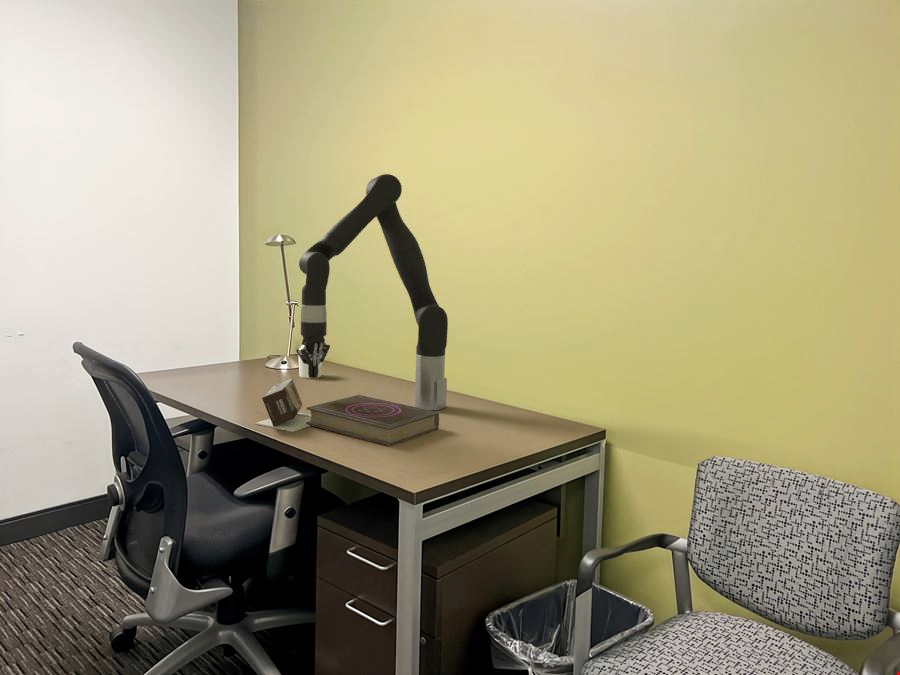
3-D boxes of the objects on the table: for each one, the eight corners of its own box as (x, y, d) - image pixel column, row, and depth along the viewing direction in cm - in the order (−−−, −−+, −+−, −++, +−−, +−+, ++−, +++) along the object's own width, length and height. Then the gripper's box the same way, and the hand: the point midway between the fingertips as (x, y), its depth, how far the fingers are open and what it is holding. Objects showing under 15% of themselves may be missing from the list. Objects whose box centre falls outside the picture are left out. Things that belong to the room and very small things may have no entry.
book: (306, 424, 197) (306, 407, 196) (359, 410, 215) (360, 394, 214) (388, 446, 179) (389, 427, 179) (439, 428, 197) (439, 411, 197)
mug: (293, 376, 264) (293, 350, 263) (310, 373, 271) (310, 347, 270) (313, 380, 258) (313, 353, 256) (330, 377, 265) (330, 350, 264)
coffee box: (304, 405, 209) (295, 419, 193) (284, 412, 209) (273, 427, 193) (292, 377, 207) (282, 390, 192) (272, 385, 207) (260, 398, 192)
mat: (329, 419, 204) (329, 418, 204) (292, 432, 190) (293, 430, 190) (293, 412, 210) (293, 411, 210) (255, 424, 196) (255, 422, 196)
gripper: (308, 322, 197) (308, 382, 199) (337, 319, 208) (337, 375, 210) (288, 320, 200) (288, 379, 202) (318, 317, 212) (317, 372, 214)
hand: (313, 377), depth 206 cm, fingers closed
